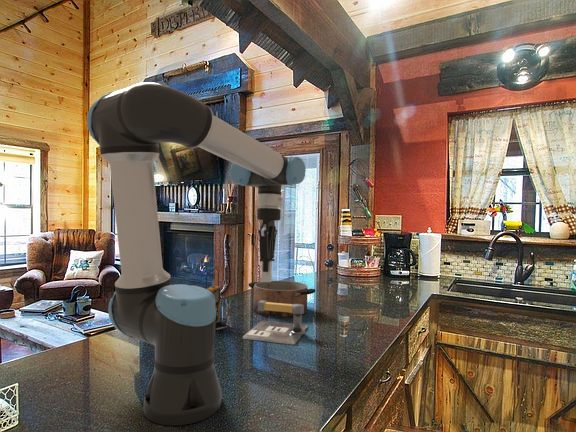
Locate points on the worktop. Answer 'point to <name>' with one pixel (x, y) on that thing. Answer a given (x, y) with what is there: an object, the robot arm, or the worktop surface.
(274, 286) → the cooking pot
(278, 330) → the label
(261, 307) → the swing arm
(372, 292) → the worktop surface
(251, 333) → the label
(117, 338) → the worktop surface
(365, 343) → the worktop surface
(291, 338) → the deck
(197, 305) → the robot arm
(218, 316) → the multimeter
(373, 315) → the worktop surface
